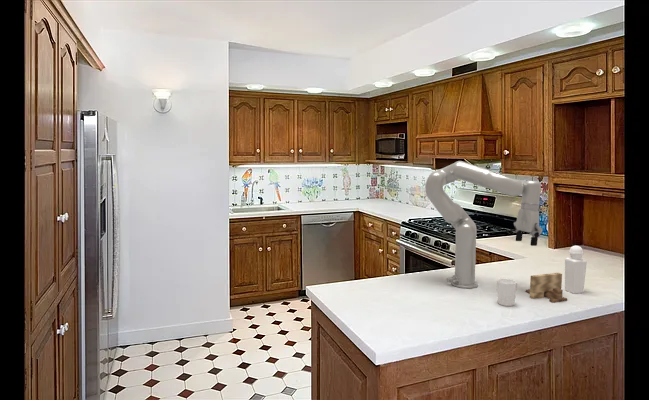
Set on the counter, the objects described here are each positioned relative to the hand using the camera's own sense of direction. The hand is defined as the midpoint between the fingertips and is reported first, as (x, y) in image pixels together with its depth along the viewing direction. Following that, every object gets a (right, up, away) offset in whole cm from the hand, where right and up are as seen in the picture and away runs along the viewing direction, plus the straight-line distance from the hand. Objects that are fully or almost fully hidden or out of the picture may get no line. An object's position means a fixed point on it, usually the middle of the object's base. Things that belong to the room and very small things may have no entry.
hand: (525, 243), depth 206 cm
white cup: (-16, -25, -16) cm, 34 cm away
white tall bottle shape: (+23, -23, 0) cm, 32 cm away
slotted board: (+6, -24, -6) cm, 25 cm away
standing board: (+6, -24, -6) cm, 25 cm away
